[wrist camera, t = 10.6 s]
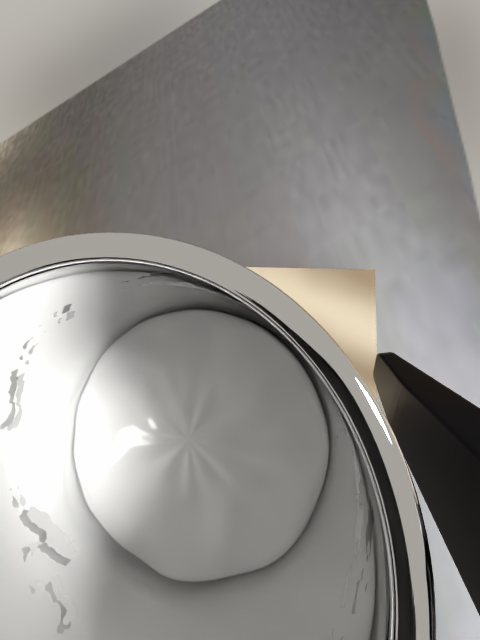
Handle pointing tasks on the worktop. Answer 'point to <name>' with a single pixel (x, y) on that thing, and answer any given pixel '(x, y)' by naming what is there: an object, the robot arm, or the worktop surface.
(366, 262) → the worktop surface
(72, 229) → the worktop surface
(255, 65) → the worktop surface
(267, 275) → the birch board
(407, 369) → the robot arm
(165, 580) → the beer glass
